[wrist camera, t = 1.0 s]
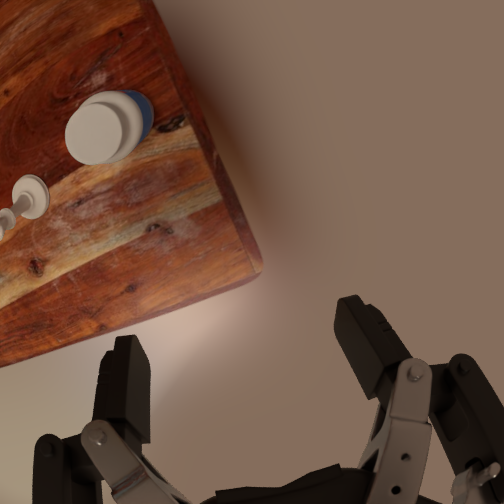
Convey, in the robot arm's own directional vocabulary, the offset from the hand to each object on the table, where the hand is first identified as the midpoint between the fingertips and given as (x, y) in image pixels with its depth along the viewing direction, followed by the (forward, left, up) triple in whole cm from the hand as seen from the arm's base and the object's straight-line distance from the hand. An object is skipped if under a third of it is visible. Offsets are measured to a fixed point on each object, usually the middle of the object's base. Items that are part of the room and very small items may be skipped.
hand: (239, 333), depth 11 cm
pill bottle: (+4, -9, -20) cm, 22 cm away
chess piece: (+18, -8, -20) cm, 28 cm away
